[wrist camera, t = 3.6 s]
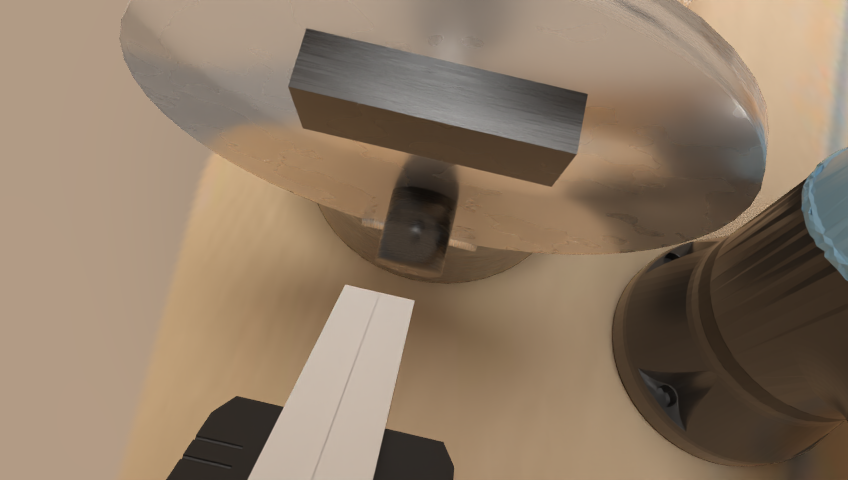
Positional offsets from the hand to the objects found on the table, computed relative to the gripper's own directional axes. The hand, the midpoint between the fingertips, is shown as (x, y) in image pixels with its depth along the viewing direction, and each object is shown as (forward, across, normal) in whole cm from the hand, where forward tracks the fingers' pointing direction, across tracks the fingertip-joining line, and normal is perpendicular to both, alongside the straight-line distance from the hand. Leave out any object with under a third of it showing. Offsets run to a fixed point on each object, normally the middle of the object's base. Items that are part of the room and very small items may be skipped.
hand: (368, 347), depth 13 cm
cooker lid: (+11, 0, +3) cm, 11 cm away
